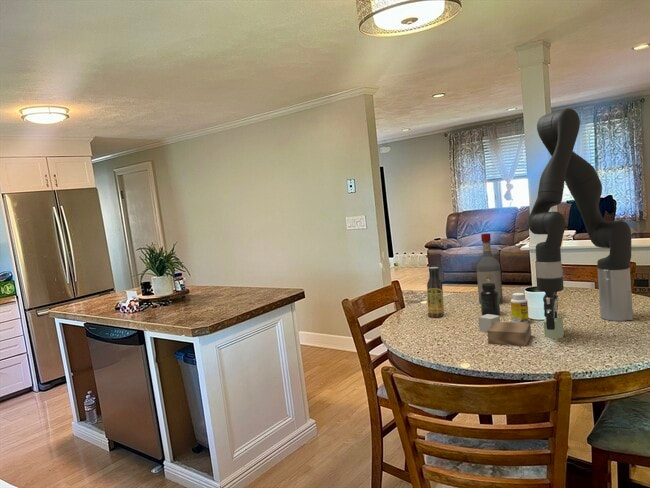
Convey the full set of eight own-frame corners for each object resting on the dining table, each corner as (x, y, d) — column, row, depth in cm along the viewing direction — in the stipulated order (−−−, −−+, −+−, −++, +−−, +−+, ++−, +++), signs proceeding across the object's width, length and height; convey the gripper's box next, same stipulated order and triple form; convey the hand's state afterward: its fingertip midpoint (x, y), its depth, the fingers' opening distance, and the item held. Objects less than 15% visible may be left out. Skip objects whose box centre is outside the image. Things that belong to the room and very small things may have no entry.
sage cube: (563, 333, 142) (562, 318, 142) (562, 338, 138) (561, 322, 137) (546, 332, 145) (545, 317, 144) (544, 337, 140) (543, 321, 140)
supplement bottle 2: (523, 324, 155) (520, 296, 155) (508, 322, 160) (506, 294, 159) (532, 321, 159) (530, 293, 158) (518, 319, 163) (515, 291, 162)
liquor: (501, 305, 186) (496, 234, 184) (478, 305, 190) (473, 235, 188) (503, 300, 194) (497, 232, 192) (481, 300, 198) (475, 233, 196)
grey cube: (501, 330, 153) (499, 315, 152) (492, 333, 150) (491, 319, 149) (488, 327, 157) (487, 314, 156) (479, 331, 154) (478, 317, 153)
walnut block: (531, 335, 143) (530, 323, 143) (526, 345, 134) (525, 332, 134) (495, 333, 149) (494, 321, 149) (488, 343, 140) (487, 330, 140)
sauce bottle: (427, 318, 178) (422, 269, 177) (429, 314, 184) (425, 266, 183) (444, 317, 176) (439, 268, 174) (446, 313, 181) (441, 265, 180)
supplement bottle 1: (492, 311, 178) (489, 281, 177) (504, 314, 171) (501, 284, 170) (477, 314, 176) (475, 284, 175) (489, 317, 169) (486, 286, 168)
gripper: (560, 279, 132) (563, 332, 133) (564, 271, 144) (567, 321, 145) (533, 279, 136) (536, 331, 137) (539, 271, 148) (541, 319, 149)
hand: (552, 325), depth 141 cm, fingers open, 8 cm apart
